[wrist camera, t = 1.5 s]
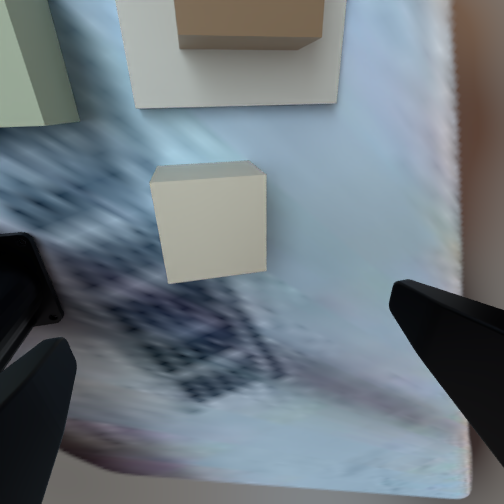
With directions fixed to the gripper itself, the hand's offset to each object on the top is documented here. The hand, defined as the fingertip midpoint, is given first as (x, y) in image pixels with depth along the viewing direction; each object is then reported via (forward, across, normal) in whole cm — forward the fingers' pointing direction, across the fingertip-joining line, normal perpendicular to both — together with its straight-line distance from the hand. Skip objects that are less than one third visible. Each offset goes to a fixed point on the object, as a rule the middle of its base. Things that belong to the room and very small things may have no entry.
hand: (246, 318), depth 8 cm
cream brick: (+12, 0, 0) cm, 12 cm away
